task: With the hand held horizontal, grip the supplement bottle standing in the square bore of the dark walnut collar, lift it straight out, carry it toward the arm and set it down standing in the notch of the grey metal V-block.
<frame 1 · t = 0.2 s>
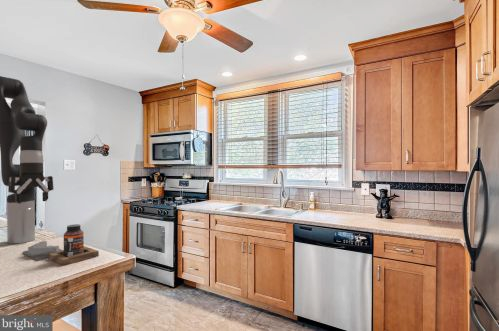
hand: (32, 202, 110), 18 cm above the table, tool pointing down, fingers open, 8 cm apart
supplement bottle: (73, 257, 96), resting in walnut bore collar
metal v block: (52, 251, 103), on the table
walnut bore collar: (73, 257, 96), on the table
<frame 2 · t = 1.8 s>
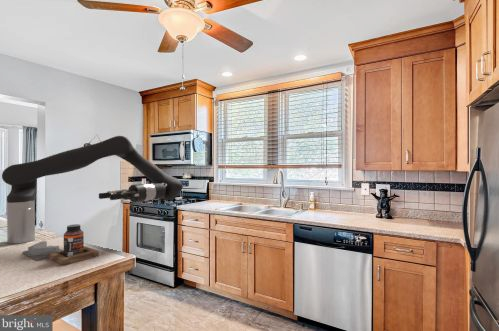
hand: (104, 196, 105), 20 cm above the table, tool horizontal, fingers open, 8 cm apart
nothing on the table moved.
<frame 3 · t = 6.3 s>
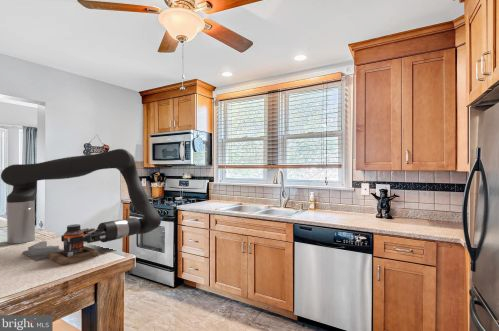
hand: (65, 240, 94), 7 cm above the table, tool horizontal, fingers closed on supplement bottle, 6 cm apart
supplement bottle: (73, 257, 96), resting in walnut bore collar, touching gripper
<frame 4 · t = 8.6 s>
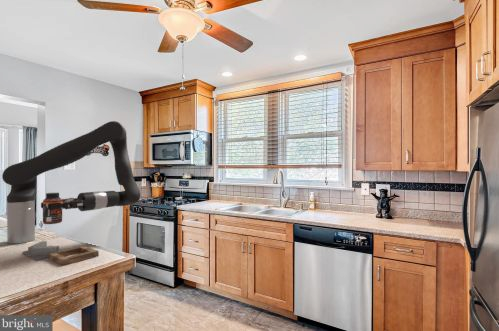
hand: (44, 206, 100), 18 cm above the table, tool horizontal, fingers closed on supplement bottle, 6 cm apart
supplement bottle: (52, 223, 102), point 11 cm above the table, touching gripper
when the fingers open (8 cm above the table, at t = 11.0 s): supplement bottle drops 1 cm, resting on metal v block.
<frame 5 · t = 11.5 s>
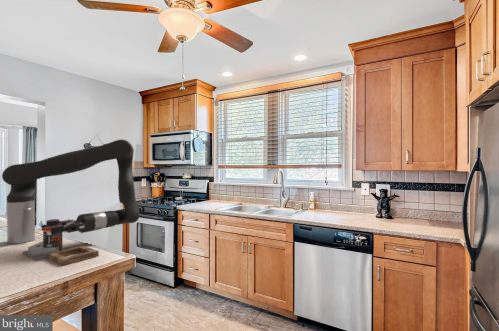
hand: (46, 229, 101), 9 cm above the table, tool horizontal, fingers open, 8 cm apart
supplement bottle: (53, 250, 103), resting on metal v block
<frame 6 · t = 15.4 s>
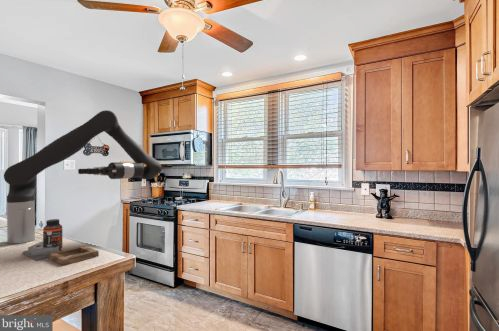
hand: (83, 171, 112), 30 cm above the table, tool horizontal, fingers open, 8 cm apart
nothing on the table moved.
at the end: supplement bottle 0.2 cm from the metal v block (horizontally); supplement bottle tilted 0°; the gripper is holding nothing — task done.
